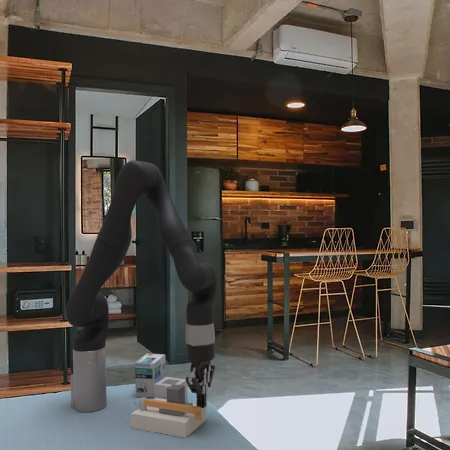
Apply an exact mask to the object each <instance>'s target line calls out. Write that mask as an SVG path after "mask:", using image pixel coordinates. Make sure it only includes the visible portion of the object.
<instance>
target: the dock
mask: <svg viewBox="0 0 450 450" xmlns="http://www.w3.org/2000/svg"><path fill="white" fill-rule="evenodd" d="M173 384H176V385H183V386H185V402H187V403H189V402H188V400H189V399H188V384H187V382H186V378H177V377H169V376H166V378H164V379H162V380H160V381H159V382H157V383H155V384H154V398H153V399H155V398H161V399H167V388H168V387H170V386H171V385H173Z"/></svg>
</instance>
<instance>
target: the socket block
mask: <svg viewBox="0 0 450 450" xmlns="http://www.w3.org/2000/svg"><path fill="white" fill-rule="evenodd" d="M152 400H159V401H165V402H167V399H161V398H155V399H154V398H153V399H152ZM193 406H197V403H193ZM207 406H208V404H207V405H206V407H204V408H201V420H200V421H198V420H195V414H191V413H184V414H183V415H182V416H177V415H171V414H165V413H159V408H154V407H148V406H147V409H146V410H140V407H139V408H138V409H136V410H134V411H133V412H131V413H130V420H131V422H130V424H131V429H133V430H134V429H135V430H140V431H146V432H152V433H156V432H157V433H156V434H161V433H162V434H161V435H166V434H168V436H172V437H179V438H182V439H186V438H188V437H189V436H190V435H191V434H192V433H194V432H195V430H197V429H198V428H199V427H200V426H201V425H202V424H203V423H205V422H206V421H207V420H208V418H207V417H208V413H207V412H208V411H207V408H208V407H207Z"/></svg>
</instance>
